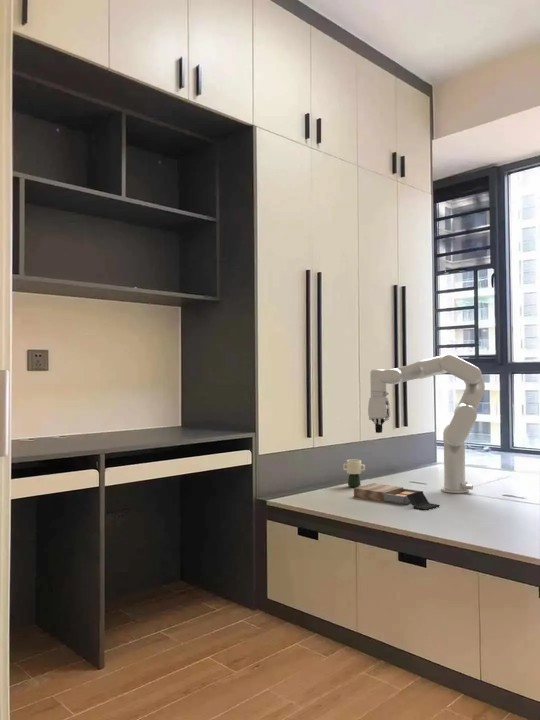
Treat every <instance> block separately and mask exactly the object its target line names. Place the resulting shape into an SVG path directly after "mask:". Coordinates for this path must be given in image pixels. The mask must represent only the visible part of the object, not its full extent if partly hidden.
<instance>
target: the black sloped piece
mask: <svg viewBox="0 0 540 720" xmlns="http://www.w3.org/2000/svg"><path fill="white" fill-rule="evenodd" d="M420 491H421V492H416V493H412V494H408V495H407V497H408V499H409V500H410V502H411V503H410V504H411V505H412V507H413V508H414V509H413V510H418V509H419V510H420V511H423V510H427V511H430V510H429V509H431V510H433V508H434V509H437V508H436V507H438V508H440V507H441V505H440V504H436V503H430V501H429V500H428V499H427V497H426V496H425V494H424V491H423V490H420ZM422 491H423V492H422ZM439 506H440V507H439Z"/></svg>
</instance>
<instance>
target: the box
mask: <svg viewBox="0 0 540 720" xmlns="http://www.w3.org/2000/svg"><path fill="white" fill-rule="evenodd" d="M405 491H407V492H414V493H416V492H421V491H422V492H423V493H424V491H423V490H417V489H410V488H409V489H408V488H404V487H403V489H402V492H405ZM388 502H390V504H395V503H396V505H401V504H402V506H406V505H408V503H409V504H411V502H410V500H409V499H408V497H407V495H406V496H398V495H392V494H384V502H383V503H388Z"/></svg>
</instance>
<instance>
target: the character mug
mask: <svg viewBox="0 0 540 720" xmlns="http://www.w3.org/2000/svg"><path fill="white" fill-rule="evenodd" d="M342 467H343V471H346V473H347V474H348V481H347V485H348V487H350V488H356V487H360V486H362V484H361V477H360V475H359V474H362V472H365V471H366V465H365V464H362V460H361V459H354V458H353V459H347V460H346V463H343V465H342Z"/></svg>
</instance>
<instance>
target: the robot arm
mask: <svg viewBox="0 0 540 720" xmlns="http://www.w3.org/2000/svg"><path fill="white" fill-rule="evenodd" d="M447 373H448V374H450V375H452V376H454V377H455V378H457V379H459V380H462V381H463V382H464V383H465V388H464V389H465V390H464V391H463V393H462V396H461V398H460V400H459V402H458V403H457V406H456V407H455V409H454V412H453V416H452V418H451V421H450V423H449V424H448V425H446V426H445V428H444V429H443V434H442V435H443V436H442V437H443V438H442V440H443V481H444V484H443V486H442V487H440V491H441V492H444V493H449V494H450V493H451V494H466V493H468V492H469V491H470V490H473V489H474V486H473V484H469V483H468V481H466V447H465V446H466V444H465V442H466V440H467V439H468V437H469V434H470V433H471V431H472V428H473V427H474V425H475V423H476V421H477V417H478V413H477V410H478V408H479V405H480V404H481V402H482V400H483V396H484V395H485V387H486V386H485V381H484V377H483V374H482V370H481V369H480V368H479V367H478V366H476V365H474V364H472V363H470V362H468V361H466V360H464V359H463V358H460V357H458V356H457V355H455V354H453V353H446V354H442V355H439V356H435V357H430V358H426V359H422V360H418V361H416V362H414V363H411V364H407V365H404V366H400V367H396V368H390V369H381V368H379V369H377V368H376V369H371V370H370V373H369V374H370V378H369V379H370V380H369V381H370V397H369V400H368V407H367V416H368V420H370V421H372V422H373V424H374V426H375V427H374V429H375V433H377V434H379V433H383V425H384V423H385V422H389V421H390V417H391V408H390V406H391V405H390V401H389V398H388V397H387V396H388V395H389V392H387V384H388V385H389V384H390V385H397V384H400V383H404V382H408V381H411V380H412V381H413V380H418V379H419V380H420V379H421V380H422V379H427V378H430V377H434V376H438V375H444V374H447Z"/></svg>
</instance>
